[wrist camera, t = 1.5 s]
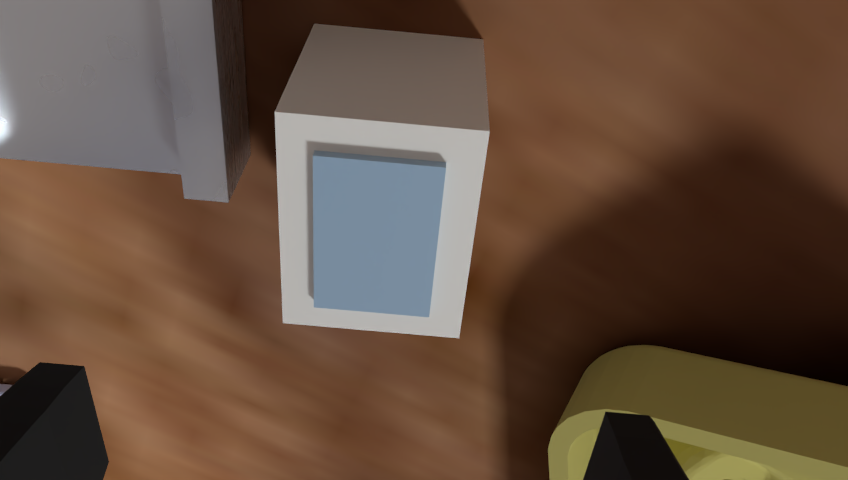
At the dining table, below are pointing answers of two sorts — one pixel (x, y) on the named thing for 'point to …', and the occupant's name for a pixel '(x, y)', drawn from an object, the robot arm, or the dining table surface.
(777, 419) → the plastic component
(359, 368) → the dining table surface
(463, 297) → the block
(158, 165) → the rail
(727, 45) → the dining table surface
